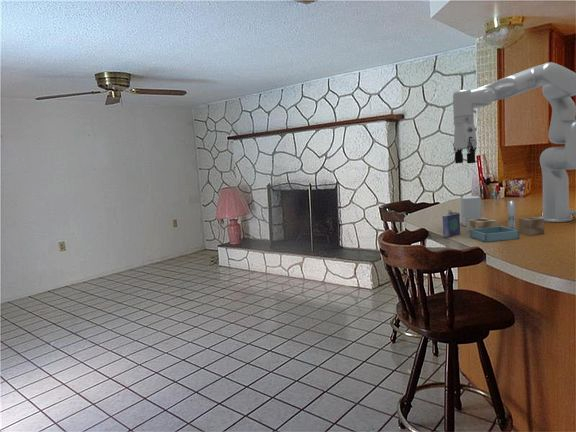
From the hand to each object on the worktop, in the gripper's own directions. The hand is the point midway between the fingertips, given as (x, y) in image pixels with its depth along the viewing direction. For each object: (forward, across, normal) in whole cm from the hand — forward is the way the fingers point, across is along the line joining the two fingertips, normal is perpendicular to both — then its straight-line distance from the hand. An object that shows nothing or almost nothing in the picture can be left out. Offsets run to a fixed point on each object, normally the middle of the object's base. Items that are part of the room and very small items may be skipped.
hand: (465, 163), depth 173 cm
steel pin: (+29, -8, -15) cm, 33 cm away
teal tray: (+29, -17, -2) cm, 33 cm away
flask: (+29, -6, +10) cm, 31 cm away
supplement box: (+29, +12, -9) cm, 32 cm away
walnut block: (+29, -17, -17) cm, 37 cm away
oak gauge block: (+29, -5, -4) cm, 29 cm away
